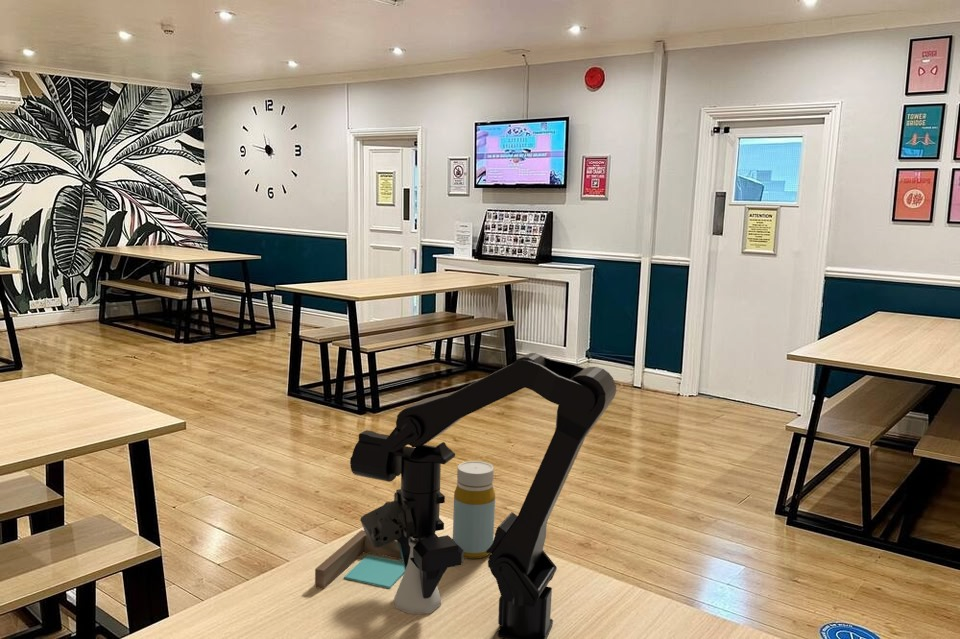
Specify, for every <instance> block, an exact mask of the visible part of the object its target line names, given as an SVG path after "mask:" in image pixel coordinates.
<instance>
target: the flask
mask: <svg viewBox="0 0 960 639" xmlns="http://www.w3.org/2000/svg"><path fill="white" fill-rule="evenodd" d="M418 541H419V540H413V539H412V538H411V537H410V538H409V546H410V555H409V560H408V564H407V567H406V570H405V572H404V574H403V575H402V578H401V581H400V583H399V586H398V588H397V590H396V593H395V595H394V597H393V598H394V609H396V610H400V611H401V612H402V611H403V612H405V613H407V614H411V615H413V614H414V615H415V614H432V613H433V612H434V611H435V610H436V609H438V608H439V607H440V606H441V605H442V602H441V601H442V600H441V593H440V591H439V587H438V586H437V587H436V588H435V590H434V592H433V594H432V596H431V597H430V598H426V599H424V598H423V595H422V588H421V580H420V572H419V569H418V568H417V567H416V566H415V565H414V563H413V562H412V561H411V560H410V558H412V557H413V547H414V546H415V545H416V544H417V543H418Z"/></svg>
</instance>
